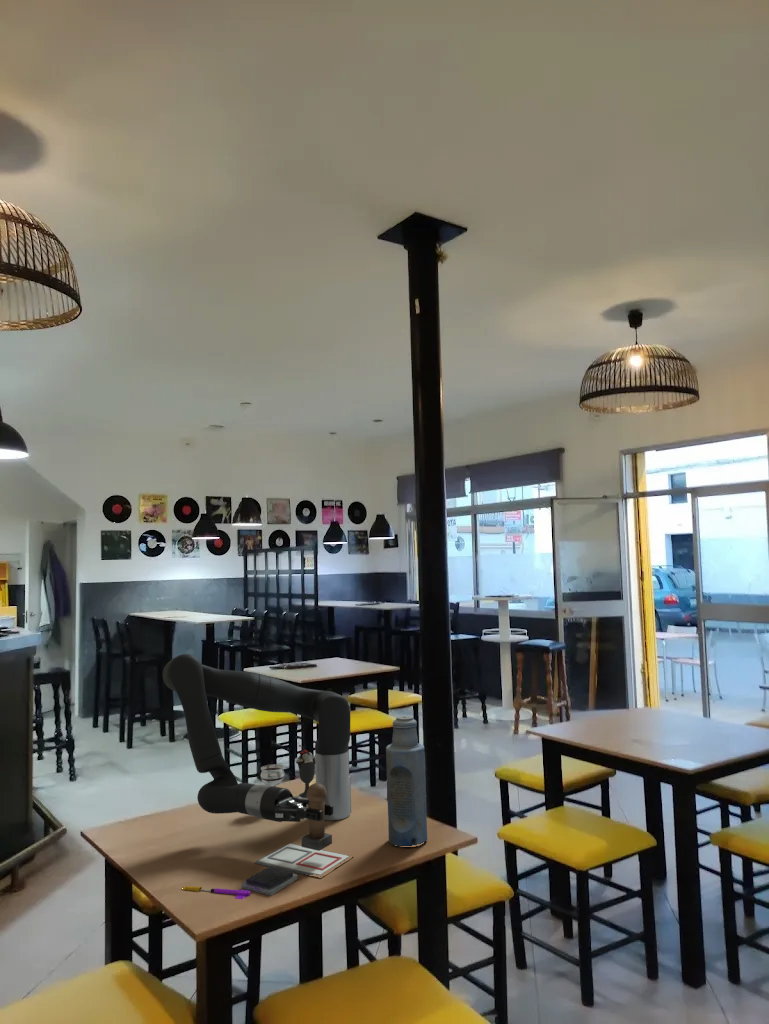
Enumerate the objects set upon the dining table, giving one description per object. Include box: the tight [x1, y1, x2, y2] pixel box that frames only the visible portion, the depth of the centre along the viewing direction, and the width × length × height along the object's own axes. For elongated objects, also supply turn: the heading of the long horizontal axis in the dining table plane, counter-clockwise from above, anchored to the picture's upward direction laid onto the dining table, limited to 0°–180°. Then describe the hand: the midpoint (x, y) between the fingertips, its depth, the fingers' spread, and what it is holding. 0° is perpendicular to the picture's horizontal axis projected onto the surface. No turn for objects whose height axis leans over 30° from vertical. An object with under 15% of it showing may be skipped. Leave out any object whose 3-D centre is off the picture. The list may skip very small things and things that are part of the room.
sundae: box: [295, 744, 316, 798], centre depth 216 cm, size 7×7×15 cm
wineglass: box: [260, 763, 286, 787], centre depth 202 cm, size 7×7×12 cm
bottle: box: [385, 715, 428, 846], centre depth 176 cm, size 10×10×30 cm
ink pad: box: [241, 866, 298, 896], centre depth 153 cm, size 9×8×2 cm
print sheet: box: [254, 842, 351, 877], centre depth 165 cm, size 13×19×1 cm
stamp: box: [300, 782, 333, 851], centre depth 164 cm, size 5×5×14 cm
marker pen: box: [180, 885, 252, 900], centre depth 149 cm, size 3×1×16 cm
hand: (326, 813), depth 162 cm, fingers closed on stamp, 3 cm apart
